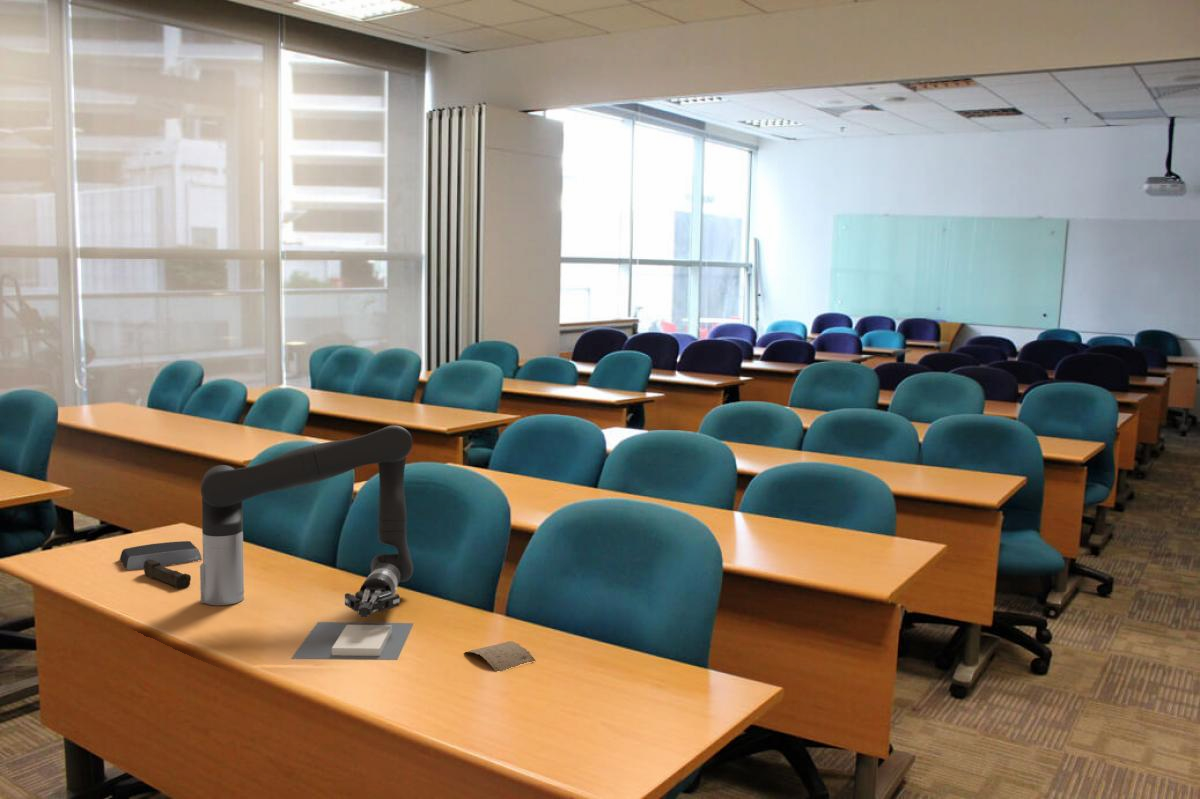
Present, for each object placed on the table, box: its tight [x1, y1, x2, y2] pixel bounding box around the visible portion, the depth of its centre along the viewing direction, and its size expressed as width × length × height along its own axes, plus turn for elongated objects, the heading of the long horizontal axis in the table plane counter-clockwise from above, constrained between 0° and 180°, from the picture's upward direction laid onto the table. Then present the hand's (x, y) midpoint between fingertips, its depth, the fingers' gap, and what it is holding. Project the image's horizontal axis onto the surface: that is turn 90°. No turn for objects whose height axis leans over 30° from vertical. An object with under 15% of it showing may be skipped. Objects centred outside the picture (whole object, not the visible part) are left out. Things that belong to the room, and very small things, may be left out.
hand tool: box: [143, 559, 192, 590], centre depth 249 cm, size 19×4×5 cm, turn 52°
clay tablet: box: [464, 640, 536, 673], centre depth 204 cm, size 14×10×3 cm
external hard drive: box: [119, 540, 203, 571], centre depth 267 cm, size 13×19×4 cm
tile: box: [332, 625, 392, 656], centre depth 208 cm, size 10×2×14 cm
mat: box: [290, 621, 414, 661], centre depth 210 cm, size 22×22×1 cm
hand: (364, 612), depth 209 cm, fingers closed
